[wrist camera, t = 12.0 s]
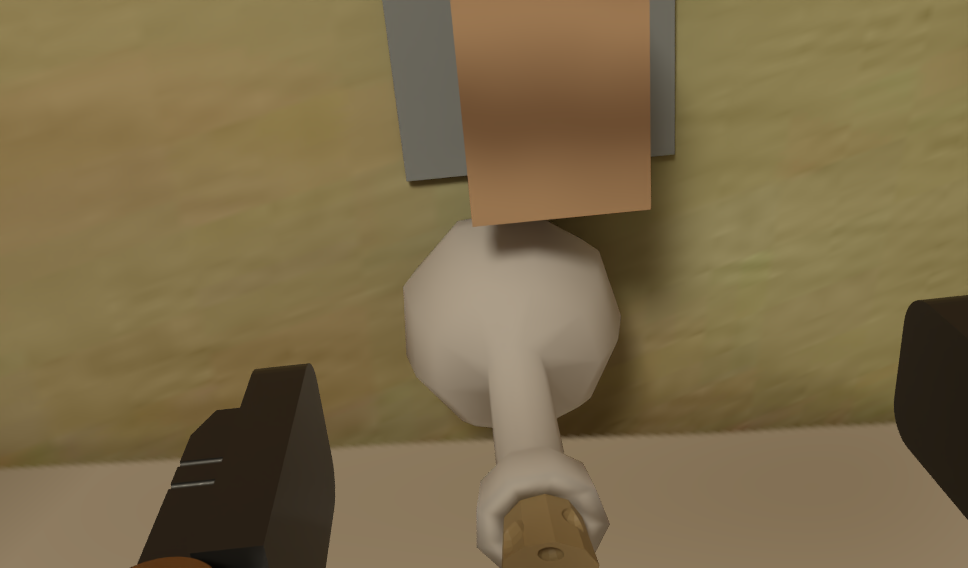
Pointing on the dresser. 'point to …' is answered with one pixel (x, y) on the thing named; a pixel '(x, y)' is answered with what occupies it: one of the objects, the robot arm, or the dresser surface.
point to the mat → (435, 91)
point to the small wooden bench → (554, 107)
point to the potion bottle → (518, 375)
